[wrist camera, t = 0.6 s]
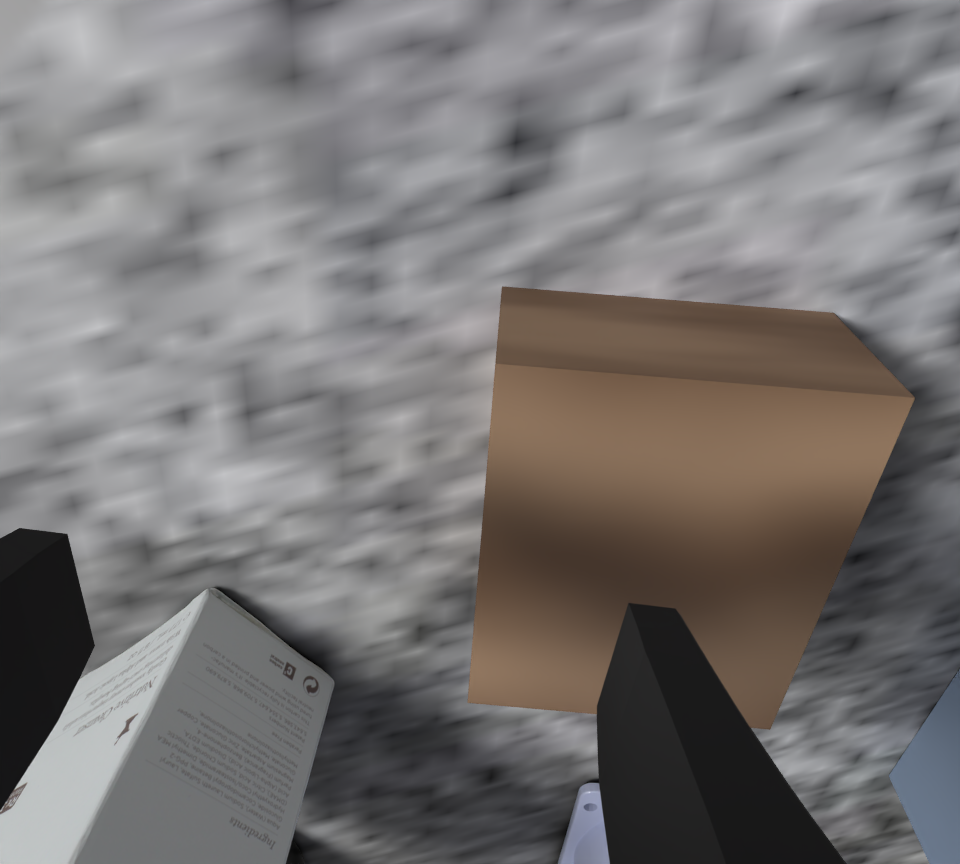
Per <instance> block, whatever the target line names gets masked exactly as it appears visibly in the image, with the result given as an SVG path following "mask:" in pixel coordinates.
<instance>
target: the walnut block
mask: <svg viewBox="0 0 960 864" xmlns="http://www.w3.org/2000/svg"><path fill="white" fill-rule="evenodd" d="M914 399H915V397H914V396H913V395H912V394H911V393H910V392H909V391H908V390H907V389H906V388H905V387H904V386H903V385H902V384H901V383H900V382H899V381H898V380H897V378H896V377H895V376H894V375H893V374H892V373H891V372H890V371H889V370H888V369H887V368H886V367H885V366H884V365H883V364H882V363H881V362H880V361H879V360H878V359H877V358H876V357H875V356H874V355H873V353H872V352H871V351H870V350H869V349H868V348H867V347H866V346H865V345H864V344H863V343H862V342H861V341H860V340H859V339H858V338H857V337H856V336H855V335H854V334H853V333H852V332H851V331H850V330H849V328H848V327H847V326H846V325H845V324H844V323H843V322H842V321H841V320H840V319H839V318H838V317H837V316H836V315H835V314H834V313H828V312H816V311H803V310H791V309H778V308H765V307H753V306H740V305H728V304H715V303H702V302H690V301H677V300H665V299H652V298H639V297H627V296H614V295H602V294H589V293H576V292H564V291H551V290H539V289H526V288H513V287H502V293H501V305H500V317H499V329H498V340H497V352H496V364H495V376H494V388H493V401H492V413H491V425H490V437H489V449H488V461H487V473H486V486H485V498H484V510H483V522H482V534H481V546H480V558H479V570H478V583H477V595H476V607H475V619H474V631H473V643H472V655H471V668H470V680H469V692H468V703H476V704H488V705H499V706H510V707H522V708H533V709H544V710H556V711H567V712H578V713H590V714H597V704H598V701H599V697H600V694H601V691H602V688H603V684H604V681H605V678H606V674H607V671H608V668H609V665H610V661H611V658H612V655H613V652H614V648H615V645H616V642H617V639H618V635H619V632H620V629H621V625H622V622H623V619H624V616H625V612H626V609H627V606H628V603H635V604H643V605H651V606H659V607H667V608H675V609H676V610H677V611H678V612H679V614H680V615H681V616H682V618H683V620H684V621H685V623H686V625H687V626H688V628H689V630H690V631H691V633H692V635H693V636H694V638H695V640H696V641H697V643H698V645H699V646H700V648H701V650H702V651H703V653H704V655H705V656H706V658H707V660H708V661H709V663H710V664H711V666H712V668H713V669H714V671H715V673H716V674H717V676H718V678H719V679H720V681H721V682H722V684H723V685H724V687H725V689H726V690H727V692H728V693H729V695H730V697H731V698H732V700H733V701H734V703H735V705H736V706H737V708H738V709H739V711H740V712H741V714H742V716H743V717H744V719H745V720H746V722H747V723H748V725H749V726H750V728H759V729H770V728H771V726H772V724H773V722H774V719H775V717H776V715H777V712H778V710H779V708H780V706H781V703H782V701H783V699H784V696H785V694H786V692H787V690H788V687H789V685H790V683H791V680H792V678H793V676H794V674H795V671H796V669H797V667H798V664H799V662H800V660H801V658H802V655H803V653H804V651H805V648H806V646H807V644H808V642H809V639H810V637H811V635H812V632H813V630H814V628H815V626H816V623H817V621H818V619H819V616H820V614H821V612H822V610H823V607H824V605H825V603H826V600H827V598H828V596H829V594H830V591H831V589H832V587H833V584H834V582H835V580H836V578H837V575H838V573H839V571H840V568H841V566H842V564H843V562H844V559H845V557H846V555H847V552H848V550H849V548H850V546H851V543H852V541H853V539H854V536H855V534H856V532H857V530H858V527H859V525H860V523H861V520H862V518H863V516H864V514H865V511H866V509H867V507H868V504H869V502H870V500H871V498H872V495H873V493H874V491H875V489H876V486H877V484H878V482H879V479H880V477H881V475H882V473H883V470H884V468H885V466H886V463H887V461H888V459H889V457H890V454H891V452H892V450H893V447H894V445H895V443H896V441H897V438H898V436H899V434H900V431H901V429H902V427H903V425H904V422H905V420H906V418H907V415H908V413H909V411H910V409H911V406H912V404H913V402H914Z"/></svg>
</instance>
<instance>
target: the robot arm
mask: <svg viewBox="0 0 960 864" xmlns="http://www.w3.org/2000/svg"><path fill="white" fill-rule="evenodd" d="M94 646H95V645H94V641H93V637H92V633H91V629H90V624H89V620H88V616H87V612H86V608H85V604H84V600H83V596H82V592H81V588H80V584H79V580H78V576H77V572H76V567H75V563H74V559H73V555H72V551H71V547H70V543H69V539H68V535H67V534H63V533H55V532H47V531H38V530H30V529H22V528H19V529H17V530H15V531H13V532H12V533H10V534H8V535H6V536H4V537H2V538H0V810H1V809H2V807H3V806H4V804H5V803H6V801H7V800H8V798H9V797H10V795H11V794H12V792H13V791H14V789H15V788H16V786H17V784H18V783H19V781H20V780H21V778H22V777H23V775H24V774H25V772H26V771H27V769H28V767H29V766H30V764H31V763H32V761H33V760H34V758H35V757H36V755H37V753H38V752H39V750H40V749H41V747H42V746H43V744H44V743H45V741H46V739H47V738H48V736H49V735H50V733H51V731H52V730H53V728H54V727H55V725H56V723H57V722H58V720H59V718H60V716H61V714H62V712H63V710H64V708H65V706H66V704H67V702H68V700H69V698H70V696H71V695H72V693H73V691H74V689H75V687H76V685H77V682H78V680H79V678H80V676H81V674H82V672H83V670H84V668H85V665H86V663H87V661H88V659H89V657H90V655H91V653H92V650H93V648H94ZM597 738H598V768H599V783H587V784H584V785H583V786H581V787H580V789H579V792H578V795H577V798H576V802H575V805H574V809H573V812H572V816H571V819H570V823H569V826H568V830H567V833H566V836H565V840H564V843H563V847H562V850H561V854H560V857H559V861H558V864H846V862H845V861H844V860H843V858H842V857H841V856H840V854H839V853H838V852H837V850H836V849H835V848H834V846H833V845H832V844H831V842H830V841H829V840H828V838H827V837H826V835H825V834H824V833H823V831H822V830H821V829H820V827H819V826H818V825H817V823H816V822H815V821H814V819H813V818H812V817H811V815H810V814H809V812H808V811H807V810H806V808H805V807H804V805H803V804H802V803H801V801H800V800H799V798H798V797H797V795H796V794H795V793H794V791H793V790H792V788H791V787H790V786H789V784H788V783H787V781H786V780H785V778H784V777H783V775H782V774H781V772H780V771H779V769H778V768H777V767H776V765H775V764H774V762H773V761H772V759H771V758H770V756H769V755H768V753H767V752H766V750H765V749H764V747H763V746H762V744H761V743H760V741H759V740H758V738H757V737H756V735H755V734H754V732H753V731H752V729H751V728H750V726H749V725H748V723H747V722H746V720H745V719H744V717H743V716H742V714H741V712H740V711H739V709H738V708H737V706H736V705H735V703H734V701H733V700H732V698H731V697H730V695H729V693H728V692H727V690H726V689H725V687H724V685H723V684H722V682H721V681H720V679H719V678H718V676H717V674H716V673H715V671H714V669H713V668H712V666H711V664H710V663H709V661H708V660H707V658H706V656H705V655H704V653H703V651H702V650H701V648H700V646H699V645H698V643H697V641H696V640H695V638H694V636H693V635H692V633H691V631H690V630H689V628H688V626H687V625H686V623H685V621H684V620H683V618H682V616H681V615H680V614H679V612H678V611H677V610H676V609H675V608H667V607H659V606H651V605H643V604H635V603H628V606H627V609H626V612H625V616H624V619H623V622H622V625H621V629H620V632H619V635H618V639H617V642H616V645H615V648H614V652H613V655H612V658H611V661H610V665H609V668H608V671H607V674H606V678H605V681H604V684H603V688H602V691H601V694H600V697H599V701H598V704H597Z"/></svg>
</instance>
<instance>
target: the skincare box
mask: <svg viewBox="0 0 960 864" xmlns="http://www.w3.org/2000/svg"><path fill="white" fill-rule="evenodd" d="M334 685H335V684H334V680H333V679H332V678H331V677H330V676H329V675H328V674H327V673H326V672H324V671H323V670H322V669H321V668H319V667H318V666H316V665H315V664H314V663H312V662H310V661H309V660H307V659H305V658H304V657H303V656H301V655H300V654H299V653H298V652H296V651H295V650H294V649H292V648H291V647H290V646H289V645H287V644H286V643H285V642H284V641H282V640H281V639H280V638H279V637H277V636H276V635H275V634H274V633H273V632H271V631H270V630H269V629H268V628H267V627H266V626H264V625H263V624H262V623H261V622H260V621H258V620H257V619H256V618H254V617H253V616H252V615H250V614H249V613H248V612H247V611H246V610H244V609H243V608H241V607H240V606H239V605H238V604H236V603H235V602H234V601H232V600H231V599H229V598H228V597H227V596H226V595H224V594H223V593H222V592H220V591H219V590H217V589H216V588H208V589H206V590H205V591H203V592H202V593H201V594H200V595H199V596H197V597H196V598H195V599H194V600H193V601H192V602H191V603H190V604H189V605H188V606H187V607H185V608H184V609H183V610H182V611H180V612H179V613H178V614H176V615H175V616H174V617H172V618H171V619H170V620H168V621H167V622H166V623H164V624H163V625H162V626H160V627H159V628H158V629H156V630H155V631H154V632H152V633H151V634H150V635H148V636H147V637H145V638H144V639H142V640H141V641H139V642H138V643H137V644H135V645H134V646H132V647H131V648H129V649H128V650H126V651H125V652H123V653H122V654H120V655H119V656H117V657H115V658H114V659H112V660H111V661H109V662H107V663H106V664H104V665H103V666H101V667H99V668H98V669H96V670H94V671H92V672H90V673H88V674H87V675H85V676H84V677H82V678H81V679H80V680H78V682H77V685H76V687H75V689H74V691H73V693H72V695H71V696H70V698H69V700H68V702H67V704H66V706H65V708H64V710H63V712H62V714H61V716H60V718H59V720H58V722H57V723H56V725H55V727H54V728H53V730H52V731H51V733H50V735H49V736H48V738H47V739H46V741H45V743H44V744H43V746H42V747H41V749H40V750H39V752H38V753H37V755H36V757H35V758H34V760H33V761H32V763H31V764H30V766H29V767H28V769H27V771H26V772H25V774H24V775H23V777H22V778H21V780H20V781H19V783H18V784H17V786H16V788H15V789H14V791H13V792H12V794H11V795H10V797H9V798H8V800H7V801H6V803H5V804H4V806H3V807H2V809H1V810H0V864H286V861H287V857H288V853H289V850H290V846H291V842H292V839H293V835H294V831H295V828H296V824H297V820H298V817H299V813H300V809H301V806H302V802H303V798H304V794H305V791H306V787H307V784H308V780H309V777H310V773H311V769H312V765H313V762H314V758H315V755H316V751H317V747H318V743H319V739H320V736H321V733H322V729H323V725H324V722H325V718H326V714H327V710H328V707H329V703H330V699H331V695H332V692H333V689H334Z"/></svg>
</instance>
